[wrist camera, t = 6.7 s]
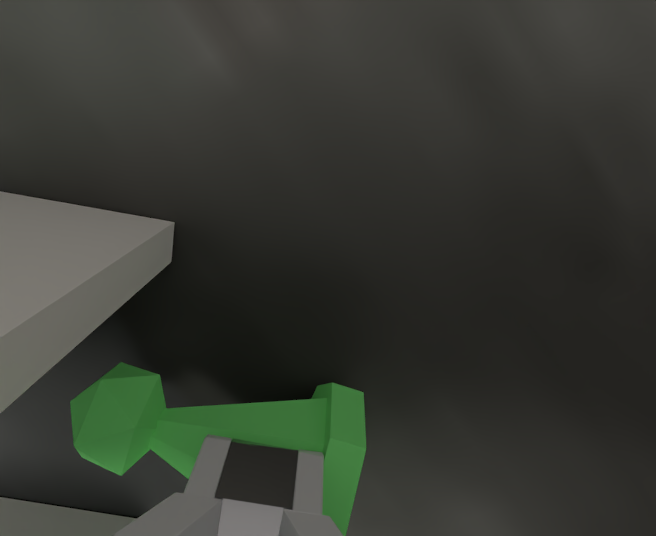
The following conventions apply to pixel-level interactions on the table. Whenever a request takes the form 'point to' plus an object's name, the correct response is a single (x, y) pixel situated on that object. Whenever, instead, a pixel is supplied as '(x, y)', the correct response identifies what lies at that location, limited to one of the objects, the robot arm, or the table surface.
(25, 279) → the white open box
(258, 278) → the table surface
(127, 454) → the game piece
